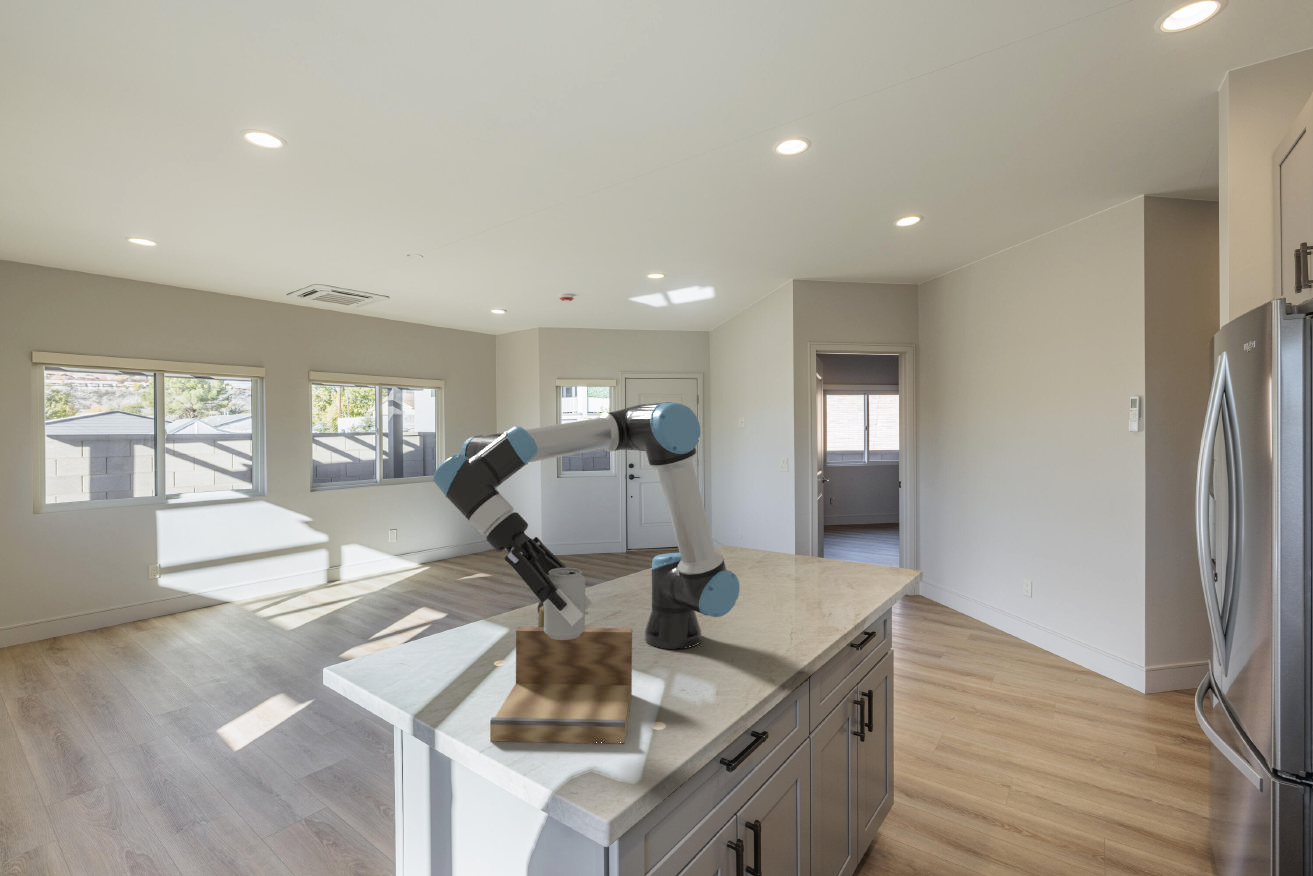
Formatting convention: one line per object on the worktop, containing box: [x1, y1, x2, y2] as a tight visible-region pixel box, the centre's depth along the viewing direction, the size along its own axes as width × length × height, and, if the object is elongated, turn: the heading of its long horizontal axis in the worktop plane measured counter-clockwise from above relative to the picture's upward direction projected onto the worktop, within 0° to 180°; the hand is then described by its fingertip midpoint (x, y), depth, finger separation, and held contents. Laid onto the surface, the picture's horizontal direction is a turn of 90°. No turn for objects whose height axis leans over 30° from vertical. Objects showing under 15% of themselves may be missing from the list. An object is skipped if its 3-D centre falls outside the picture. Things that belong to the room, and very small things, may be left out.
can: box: [544, 567, 586, 640], centre depth 110 cm, size 8×8×12 cm
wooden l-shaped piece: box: [489, 626, 633, 744], centre depth 115 cm, size 24×20×14 cm
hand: (583, 613), depth 110 cm, fingers closed on can, 7 cm apart
